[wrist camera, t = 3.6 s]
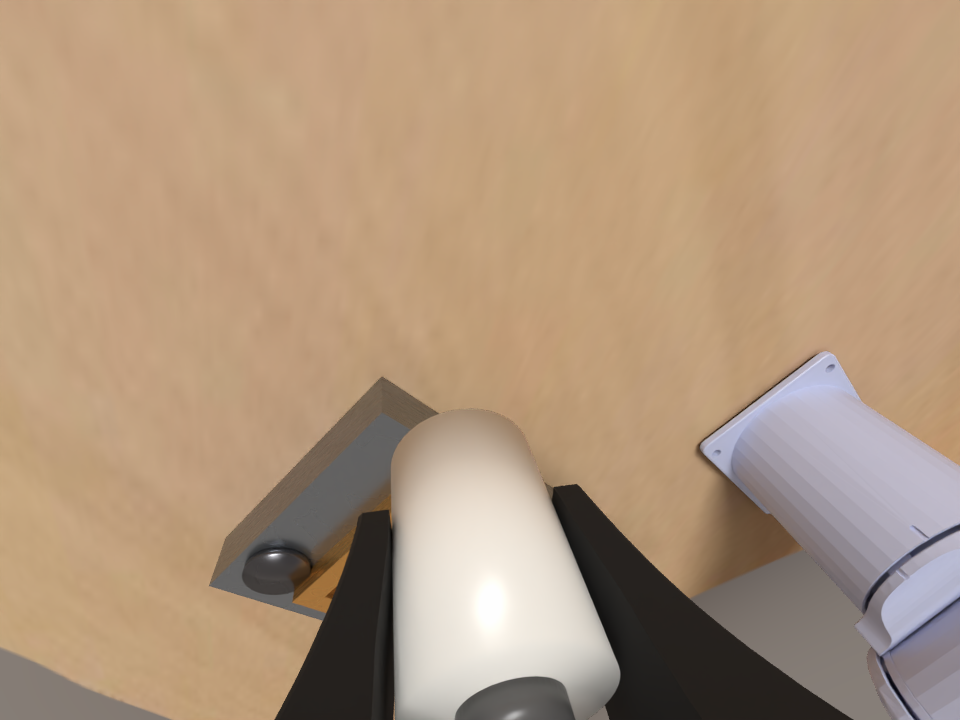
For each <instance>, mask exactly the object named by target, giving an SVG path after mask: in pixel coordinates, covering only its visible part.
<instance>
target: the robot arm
mask: <svg viewBox="0 0 960 720" xmlns="http://www.w3.org/2000/svg"><path fill="white" fill-rule="evenodd" d="M700 450H701V451H702V453H703V454H704V455H705V456H706V457H707V458H708V459H709V460H710V461H711V462H713V463H714V464H715V465H716V466H717V467H718V468H719V469H720V470H721V471H722V472H723V473H724V474H725V475H726V476H727V477H728V478H729V479H730V480H731V481H732V482H733V483H734V484H735V485H736V486H738V487H739V488H740V489H741V490H742V491H743V492H744V493H745V494H746V495H747V496H748V497H749V498H750V499H751V500H752V501H753V502H754V503H755V504H756V505H757V506H758V507H759V508H760V509H761V510H763V511H764V512H765V513H766V514H772V515H773V516H774V517H775V518H776V520H777V521H778V522H779V523H780V524H781V525H782V526H783V527H784V528H785V529H786V530H787V532H788V533H789V534H790V535H791V536H792V537H793V538H794V539H795V540H796V541H797V542H798V544H799V545H800V546H801V547H802V548H803V549H804V550H805V551H806V552H807V553H808V554H809V556H810V557H811V558H812V559H813V560H814V561H815V562H816V563H817V564H818V565H819V566H820V567H821V569H822V570H823V571H824V572H825V573H826V574H827V575H828V576H829V577H830V578H831V580H832V581H833V582H834V583H835V584H836V585H837V586H838V587H839V588H840V589H841V591H842V592H843V593H844V594H845V595H846V596H847V597H848V598H849V599H850V600H851V601H852V603H853V604H854V605H855V606H856V607H857V608H858V609H859V610H860V611H861V612H862V613H863V617H862V618H861V619H860V620H859V621H858V622H857V623H855V624H854V627H855V629H856V630H857V631H858V632H859V633H860V634H861V635H862V637H863V638H864V639H865V640H866V641H867V642H868V643H869V644H870V646H871V648H870V649H869V651H868V654H867V664H868V669H869V672H870V675H871V678H872V681H873V683H874V685H875V688H876V691H877V694H878V696H879V698H880V700H881V702H882V704H883V706H884V708H885V709H886V711H887V713H888V714H889V716H890V717H891V719H892V720H960V466H959V465H957V464H956V463H954V462H953V461H951V460H950V459H948V458H947V457H945V456H944V455H942V454H941V453H939V452H938V451H936V450H934V449H933V448H931V447H930V446H928V445H927V444H925V443H924V442H922V441H921V440H919V439H918V438H916V437H915V436H913V435H912V434H910V433H908V432H907V431H905V430H904V429H902V428H901V427H899V426H898V425H896V424H895V423H893V422H892V421H890V420H889V419H887V418H885V417H884V416H882V415H881V414H879V413H878V412H876V411H875V410H873V409H872V408H870V407H869V406H867V405H866V404H864V403H862V401H861V400H860V398H859V396H858V394H857V393H856V391H855V389H854V388H853V386H852V384H851V382H850V381H849V379H848V377H847V376H846V374H845V372H844V371H843V369H842V367H841V365H840V364H839V362H838V360H837V359H836V357H835V356H834V355H833V354H831V353H830V352H828V351H824V352H821V353H819V354H817V355H816V356H815V357H813V358H812V359H811V360H809V361H808V362H807V363H806V364H804V365H803V366H802V367H800V368H799V369H798V370H796V371H795V372H794V373H792V374H791V375H790V376H788V377H787V378H786V379H785V380H783V381H782V382H781V383H779V384H778V385H777V386H775V387H774V388H773V389H771V390H770V391H769V392H767V393H766V394H765V395H764V396H762V397H761V398H760V399H758V400H757V401H756V402H754V403H753V404H752V405H750V406H749V407H748V408H746V409H745V410H744V411H742V412H741V413H740V414H739V415H737V416H736V417H735V418H733V419H732V420H731V421H729V422H728V423H727V424H725V425H724V426H723V427H721V428H720V429H719V430H718V431H716V432H715V433H714V434H712V435H711V436H710V437H708V438H707V439H706V440H704V441H703V442H702V443H701V445H700ZM552 503H553V506H554V508H555V511H556V513H557V516H558V518H559V521H560V523H561V525H562V528H563V530H564V533H565V535H566V538H567V540H568V543H569V545H570V548H571V550H572V552H573V555H574V557H575V560H576V562H577V565H578V567H579V570H580V572H581V574H582V577H583V579H584V582H585V584H586V587H587V589H588V592H589V594H590V597H591V599H592V601H593V604H594V606H595V609H596V611H597V614H598V616H599V619H600V621H601V624H602V626H603V628H604V631H605V633H606V636H607V638H608V641H609V643H610V646H611V648H612V651H613V653H614V655H615V658H616V660H617V663H618V665H619V669H620V681H619V685H618V687H617V689H616V691H615V693H614V694H613V696H612V697H611V699H610V700H609V701H608V702H607V703H606V704H605V706H606V710H607V713H608V716H609V719H610V720H853V719H851V718H850V717H848V716H847V715H845V714H843V713H842V712H840V711H839V710H837V709H835V708H834V707H833V706H831V705H830V704H828V703H827V702H825V701H824V700H822V699H821V698H819V697H818V696H816V695H815V694H813V693H812V692H810V691H809V690H807V689H806V688H804V687H803V686H802V685H800V684H799V683H797V682H796V681H795V680H793V679H792V678H790V677H789V676H788V675H786V674H785V673H783V672H782V671H781V670H779V669H778V668H777V667H775V666H773V665H772V664H771V663H770V662H768V661H767V660H765V659H764V658H763V657H761V656H760V655H758V654H757V653H756V652H754V651H753V650H751V649H750V648H749V647H747V646H746V645H745V644H744V643H743V642H741V641H740V640H739V639H737V638H736V637H735V636H734V635H732V634H731V633H730V632H729V631H727V630H726V629H724V628H723V627H722V626H721V625H720V624H719V623H717V622H716V621H715V620H714V619H713V618H711V617H710V616H709V615H708V614H706V613H705V612H704V611H703V610H702V609H701V608H699V607H698V606H697V605H696V604H695V603H694V602H693V601H691V600H690V599H689V598H688V597H687V596H686V595H685V594H683V593H682V592H681V591H680V590H679V589H678V588H677V587H676V586H675V585H674V584H673V583H672V582H670V581H669V580H668V579H667V578H666V577H665V576H664V575H663V574H662V573H661V572H660V571H659V570H658V569H657V568H656V567H655V566H654V565H653V564H652V563H650V562H649V561H648V560H647V559H646V558H645V557H644V556H643V554H642V553H641V552H640V551H639V550H638V549H637V548H636V547H635V546H634V545H633V544H632V543H631V542H630V541H629V540H628V539H627V538H626V537H625V536H624V535H623V534H622V533H621V532H620V531H619V530H618V529H617V528H616V527H615V525H614V524H613V523H612V522H611V521H610V520H609V519H608V518H607V517H606V516H605V515H604V513H603V512H602V511H601V510H600V509H599V508H598V507H597V506H596V504H595V503H594V502H593V501H592V500H591V499H590V498H589V496H588V495H587V494H586V493H585V492H584V491H583V490H582V488H581V487H580V486H578V485H577V484H574V485H566V486H559V487H554V488H553V495H552ZM393 713H394V636H393V577H392V528H391V520H390V513H389V509H388V510H381V511H373V512H366V513H362V514H361V515H360V516H359V517H358V521H357V526H356V530H355V534H354V538H353V541H352V544H351V548H350V551H349V554H348V557H347V560H346V563H345V566H344V569H343V572H342V574H341V577H340V580H339V582H338V585H337V587H336V590H335V592H334V595H333V598H332V600H331V603H330V605H329V608H328V610H327V613H326V615H325V617H324V619H323V622H322V624H321V626H320V628H319V631H318V633H317V635H316V637H315V640H314V642H313V644H312V646H311V649H310V651H309V653H308V655H307V657H306V659H305V661H304V663H303V666H302V668H301V670H300V672H299V674H298V676H297V678H296V680H295V682H294V684H293V686H292V688H291V690H290V691H289V693H288V695H287V697H286V699H285V701H284V703H283V705H282V707H281V709H280V711H279V712H278V714H277V716H276V718H275V720H393Z"/></svg>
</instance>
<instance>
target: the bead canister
mask: <svg viewBox="0 0 960 720" xmlns="http://www.w3.org/2000/svg"><path fill="white" fill-rule="evenodd" d="M391 518H392V577H393V636H394V695H395V720H588V719H589V718H590V717H592V716H593V715H594V714H595V713H597V712H598V711H599V710H600V709H601V708H602V707H603V706H604V705H605V704H606V703H607V702H608V701H609V700H610V699H611V697H612V696H613V694H614V693H615V691H616V689H617V687H618V685H619V681H620V669H619V665H618V663H617V660H616V658H615V655H614V653H613V651H612V648H611V646H610V643H609V641H608V638H607V636H606V633H605V631H604V628H603V626H602V624H601V621H600V619H599V616H598V614H597V611H596V609H595V606H594V604H593V601H592V599H591V597H590V594H589V592H588V589H587V587H586V584H585V582H584V579H583V577H582V574H581V572H580V570H579V567H578V565H577V562H576V560H575V557H574V555H573V552H572V550H571V548H570V545H569V543H568V540H567V538H566V535H565V533H564V530H563V528H562V525H561V523H560V521H559V518H558V516H557V513H556V511H555V508H554V506H553V503H552V501H551V498H550V496H549V494H548V491H547V489H546V486H545V484H544V481H543V479H542V476H541V474H540V471H539V469H538V467H537V464H536V462H535V459H534V457H533V454H532V452H531V449H530V447H529V445H528V442H527V440H526V437H525V435H524V434H523V432H522V431H521V429H520V428H519V427H518V426H517V425H516V424H515V423H514V422H513V421H511V420H510V419H508V418H506V417H505V416H503V415H500V414H498V413H495V412H492V411H488V410H482V409H458V410H451V411H447V412H443V413H440V414H438V415H435V416H432V417H430V418H428V419H426V420H424V421H423V422H421V423H419V424H418V425H416V426H415V427H414V428H413V429H411V430H410V431H409V432H408V433H407V434H406V435H405V436H404V437H403V438H402V440H401V441H400V442H399V444H398V445H397V447H396V449H395V451H394V454H393V457H392V461H391Z"/></svg>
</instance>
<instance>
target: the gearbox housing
mask: <svg viewBox="0 0 960 720" xmlns="http://www.w3.org/2000/svg"><path fill="white" fill-rule="evenodd" d="M435 415H438V413H437V412H435V411H434V410H432V409H431V408H429V407H428V406H426V405H425V404H423V403H422V402H420V401H419V400H417V399H416V398H414V397H412V396H411V395H409V394H408V393H406V392H405V391H403V390H402V389H400V388H399V387H397V386H396V385H394V384H393V383H391V382H389V381H388V380H386V379H385V378H383V377H381V378H380V379H379V380H378V381H377V382H376V383H375V384H374V385H373V386H372V387H371V388H370V389H369V390H368V392H367V393H366V394H365V395H364V396H363V397H362V398H361V399H360V400H359V401H358V402H357V403H356V404H355V405H354V406H353V407H352V408H351V409H350V410H349V411H348V412H347V413H346V414H345V415H344V416H343V417H342V418H341V419H340V421H339V422H338V423H337V424H336V425H335V426H334V427H333V428H332V429H331V430H330V431H329V432H328V433H327V434H326V435H325V436H324V437H323V438H322V439H321V440H320V441H319V442H318V443H317V444H316V445H315V446H314V447H313V448H312V449H311V451H310V452H309V453H308V454H307V455H306V456H305V457H304V458H303V459H302V460H301V461H300V462H299V463H298V464H297V465H296V466H295V467H294V468H293V469H292V470H291V471H290V472H289V473H288V474H287V475H286V476H285V477H284V478H283V480H282V481H281V482H280V483H279V484H278V485H277V486H276V487H275V488H274V489H273V490H272V491H271V492H270V493H269V494H268V495H267V496H266V497H265V498H264V499H263V500H262V501H261V502H260V503H259V504H258V505H257V506H256V507H255V508H254V510H253V511H252V512H251V513H250V514H249V515H248V516H247V517H246V518H245V519H244V520H243V521H242V522H241V523H240V524H239V525H238V526H237V527H236V528H235V529H234V530H233V531H232V532H231V533H230V534H229V535H228V536H227V537H226V539H225V542H224V544H223V547H222V550H221V553H220V556H219V559H218V562H217V564H216V567H215V570H214V573H213V576H212V579H211V582H210V584H209V586H211V587H215V588H218V589H221V590H224V591H228V592H231V593H234V594H237V595H241V596H244V597H247V598H251V599H254V600H257V601H260V602H264V603H267V604H270V605H273V606H277V607H280V608H283V609H287V610H290V611H293V612H296V613H300V614H303V615H306V616H310V617H313V618H316V619H319V620H323V619H324V617H325V615H326V613H327V610H328V608H329V605H330V603H331V600H332V598H333V595H334V592H335V590H336V587H337V585H338V582H339V580H340V577H341V574H342V572H343V569H344V566H345V563H346V560H347V557H348V554H349V551H350V548H351V544H352V541H353V538H354V534H355V530H356V526H357V521H358V517H359V516H360V515H361V514H362V513H366V512H373V511H381V510H388V509H389V513H390V520H391V528H392V518H391V461H392V457H393V454H394V451H395V449H396V447H397V445H398V444H399V442H400V441H401V440H402V438H403V437H404V436H405V435H406V434H407V433H408V432H409V431H410V430H411V429H413V428H414V427H415V426H416V425H418V424H419V423H421V422H423V421H424V420H426V419H428V418H430V417H432V416H435ZM544 484H545V486H546V489H547V491H548V494H549V496H550V498H551V501H552V495H553V488H552V487H550V486H549V485H547V484H546V483H544Z"/></svg>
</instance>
